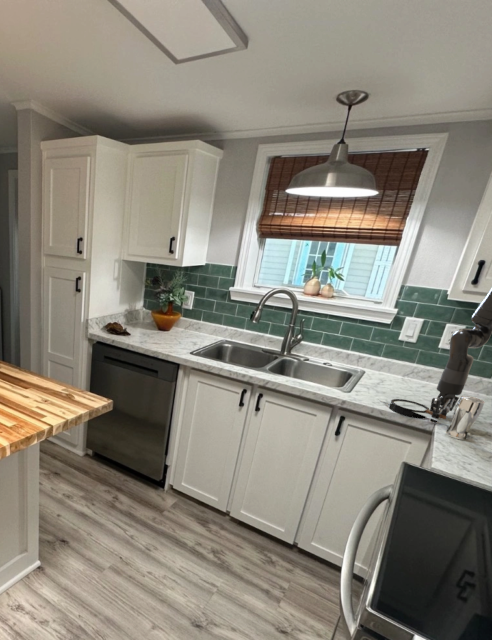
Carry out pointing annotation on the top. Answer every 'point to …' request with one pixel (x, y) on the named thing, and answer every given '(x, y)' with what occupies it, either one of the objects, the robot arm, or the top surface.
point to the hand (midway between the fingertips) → (436, 421)
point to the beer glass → (464, 416)
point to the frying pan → (410, 410)
